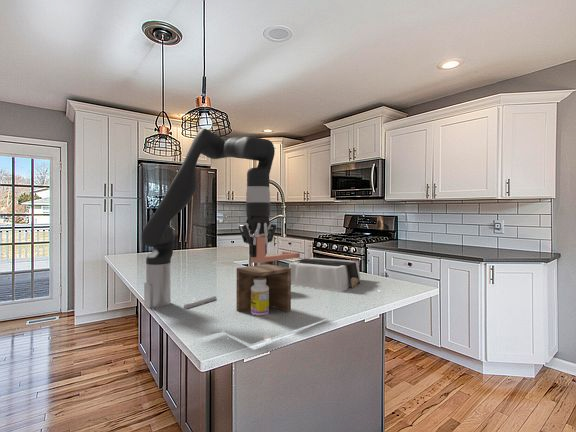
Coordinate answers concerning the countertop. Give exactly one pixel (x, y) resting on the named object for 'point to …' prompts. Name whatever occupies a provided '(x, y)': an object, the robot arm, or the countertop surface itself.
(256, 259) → the crook
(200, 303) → the grey dowel
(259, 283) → the supplement bottle
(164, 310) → the countertop surface
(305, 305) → the countertop surface
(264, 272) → the shelf
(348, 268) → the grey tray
